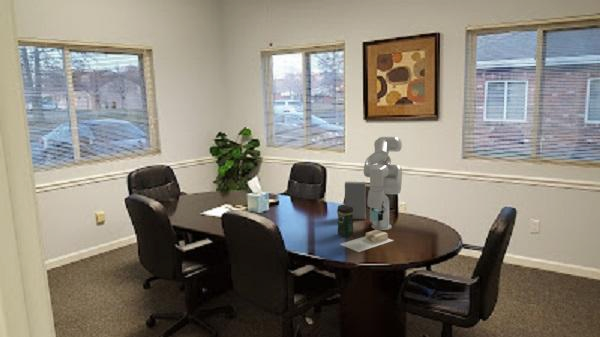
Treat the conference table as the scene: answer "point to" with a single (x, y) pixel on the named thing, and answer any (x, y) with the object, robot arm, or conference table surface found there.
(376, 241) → the maple block
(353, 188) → the cassette tape recorder
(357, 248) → the felt mat
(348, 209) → the coffee jar
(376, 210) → the teal cube
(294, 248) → the conference table surface
